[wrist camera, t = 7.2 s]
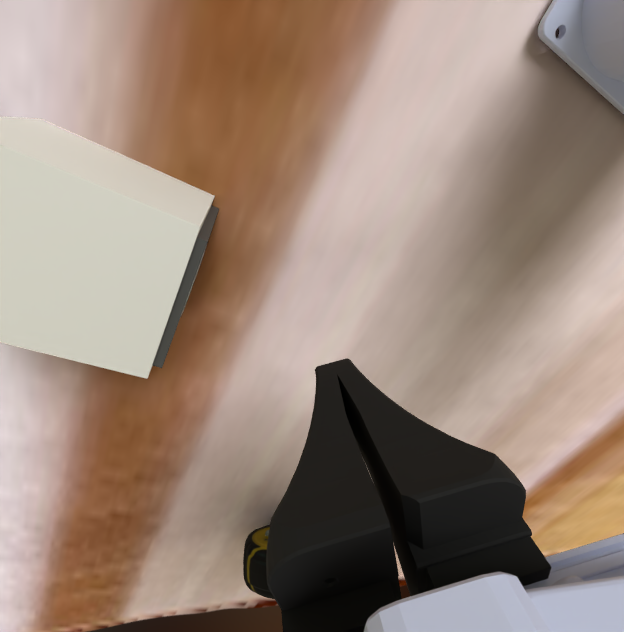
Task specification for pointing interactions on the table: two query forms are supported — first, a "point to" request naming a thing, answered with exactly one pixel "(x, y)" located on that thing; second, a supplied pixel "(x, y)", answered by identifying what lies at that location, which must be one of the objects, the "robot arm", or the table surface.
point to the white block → (93, 249)
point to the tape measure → (257, 562)
